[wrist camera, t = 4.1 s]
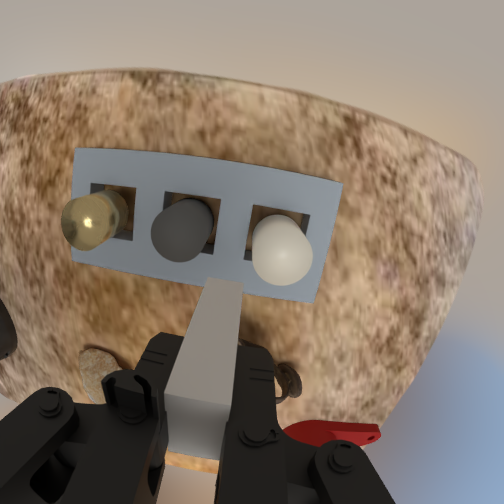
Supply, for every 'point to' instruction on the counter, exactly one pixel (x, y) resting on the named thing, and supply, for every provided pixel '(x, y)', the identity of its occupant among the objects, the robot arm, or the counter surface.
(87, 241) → the gold cylinder
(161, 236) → the dark gray cylinder
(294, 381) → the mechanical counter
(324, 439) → the lever
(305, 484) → the robot arm
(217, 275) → the grey slotted holder
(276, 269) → the white rounded cylinder
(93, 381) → the stone
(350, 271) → the counter surface
